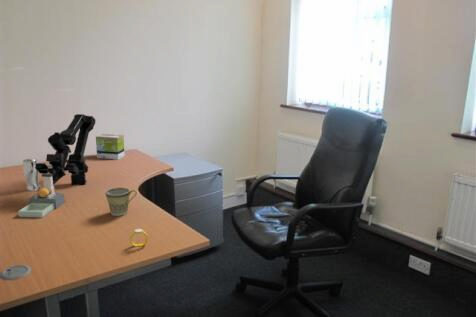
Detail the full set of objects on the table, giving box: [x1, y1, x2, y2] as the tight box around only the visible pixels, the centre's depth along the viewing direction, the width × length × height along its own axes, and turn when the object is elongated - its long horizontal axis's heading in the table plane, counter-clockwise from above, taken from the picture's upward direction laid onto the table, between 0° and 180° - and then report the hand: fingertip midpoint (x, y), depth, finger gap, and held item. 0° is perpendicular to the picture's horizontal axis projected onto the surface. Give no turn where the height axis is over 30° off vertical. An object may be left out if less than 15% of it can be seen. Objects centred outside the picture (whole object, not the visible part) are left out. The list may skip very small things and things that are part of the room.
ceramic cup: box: [105, 187, 137, 217], centre depth 180 cm, size 13×10×10 cm
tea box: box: [95, 133, 125, 161], centre depth 275 cm, size 15×10×15 cm, turn 80°
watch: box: [129, 228, 149, 248], centre depth 150 cm, size 6×3×6 cm, turn 108°
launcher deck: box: [28, 191, 66, 210], centre depth 189 cm, size 8×12×6 cm, turn 86°
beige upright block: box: [41, 173, 56, 195], centre depth 189 cm, size 2×4×9 cm, turn 86°
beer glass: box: [22, 158, 41, 192], centre depth 210 cm, size 7×7×15 cm
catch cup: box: [17, 203, 55, 218], centre depth 181 cm, size 10×10×2 cm
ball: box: [38, 188, 49, 198], centre depth 186 cm, size 4×4×4 cm
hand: (52, 184), depth 193 cm, fingers closed
